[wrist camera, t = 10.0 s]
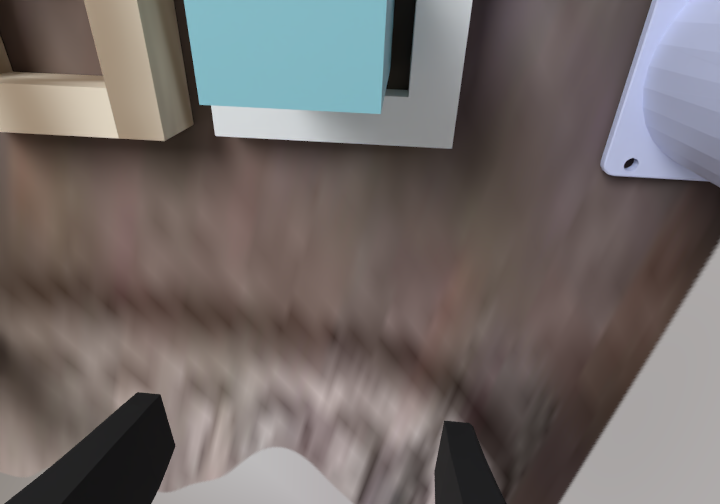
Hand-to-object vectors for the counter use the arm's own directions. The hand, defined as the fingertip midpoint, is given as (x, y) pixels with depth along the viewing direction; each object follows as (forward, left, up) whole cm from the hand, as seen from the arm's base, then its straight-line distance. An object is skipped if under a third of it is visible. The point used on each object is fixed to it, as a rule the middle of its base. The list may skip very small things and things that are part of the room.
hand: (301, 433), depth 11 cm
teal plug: (+1, -10, -10) cm, 14 cm away
